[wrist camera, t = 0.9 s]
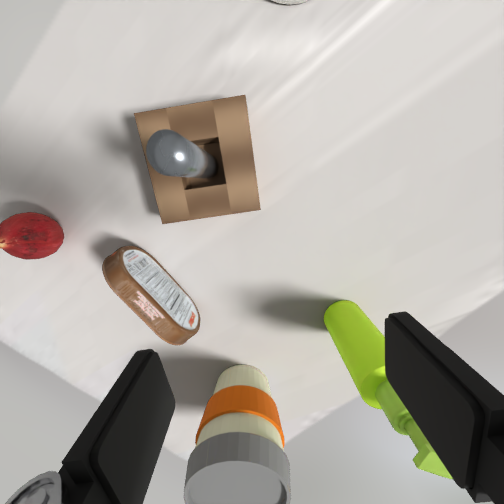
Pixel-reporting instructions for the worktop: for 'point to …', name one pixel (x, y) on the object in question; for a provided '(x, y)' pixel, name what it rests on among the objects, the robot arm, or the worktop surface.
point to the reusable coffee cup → (239, 445)
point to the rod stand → (215, 143)
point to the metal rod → (179, 156)
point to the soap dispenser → (376, 376)
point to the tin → (152, 294)
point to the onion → (30, 235)
